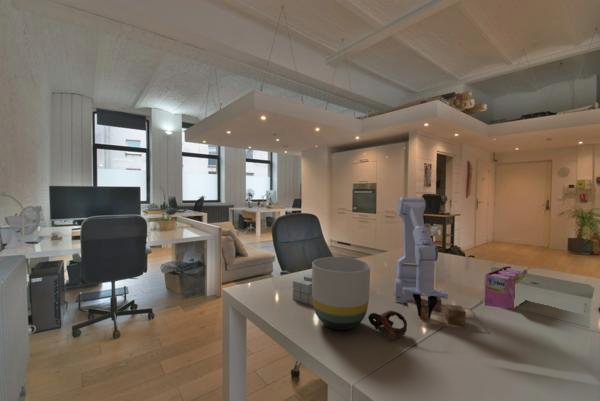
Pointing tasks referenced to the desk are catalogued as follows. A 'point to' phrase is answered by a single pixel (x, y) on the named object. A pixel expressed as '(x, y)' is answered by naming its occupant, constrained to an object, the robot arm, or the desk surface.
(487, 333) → the tray board
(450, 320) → the walnut block
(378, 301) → the desk surface
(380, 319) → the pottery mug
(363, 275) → the planter
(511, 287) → the gum box
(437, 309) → the back strip
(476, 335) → the desk surface
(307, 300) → the puzzle cube
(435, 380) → the desk surface
